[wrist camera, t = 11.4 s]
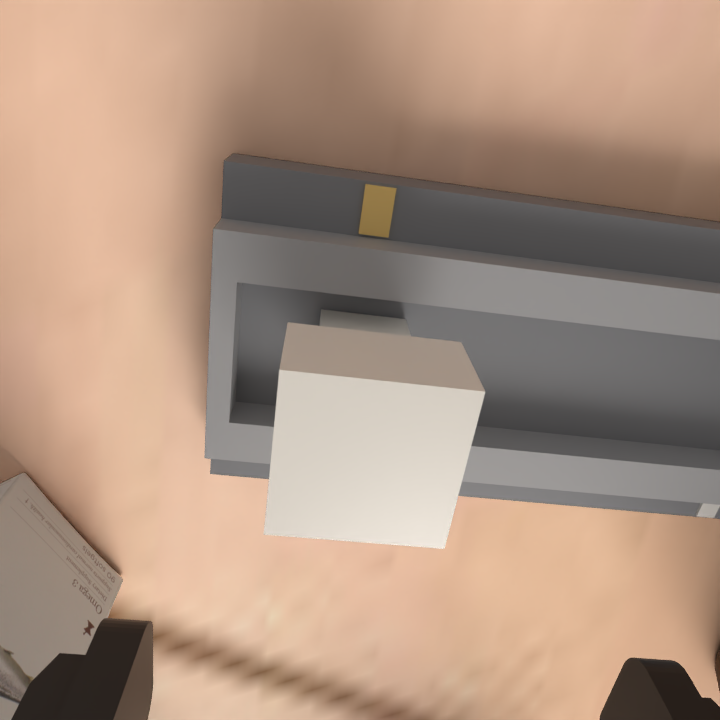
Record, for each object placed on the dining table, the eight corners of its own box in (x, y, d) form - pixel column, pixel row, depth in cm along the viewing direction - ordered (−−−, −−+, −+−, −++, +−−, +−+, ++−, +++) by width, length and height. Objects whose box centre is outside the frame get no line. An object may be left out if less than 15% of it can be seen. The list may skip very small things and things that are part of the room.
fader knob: (438, 296, 21) (485, 391, 15) (413, 418, 23) (444, 548, 17) (295, 278, 20) (279, 369, 14) (282, 405, 22) (263, 534, 16)
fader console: (865, 242, 23) (951, 269, 20) (738, 494, 28) (790, 547, 25) (233, 153, 21) (215, 167, 17) (218, 445, 26) (202, 497, 22)
